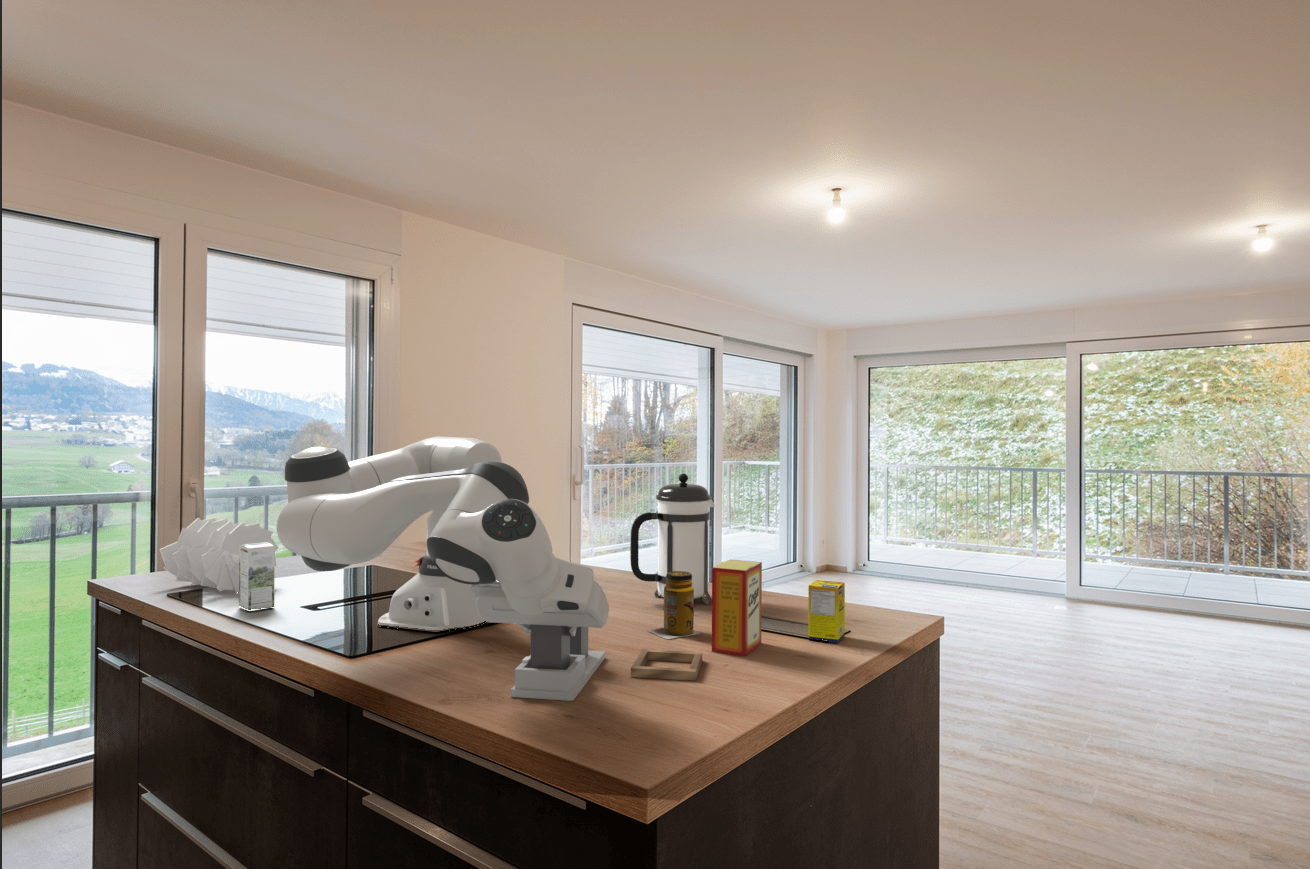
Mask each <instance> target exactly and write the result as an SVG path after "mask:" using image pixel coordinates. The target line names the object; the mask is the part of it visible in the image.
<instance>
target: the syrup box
mask: <svg viewBox="0 0 1310 869" xmlns="http://www.w3.org/2000/svg"><path fill="white" fill-rule="evenodd" d="M275 552H276V551H275V547H274V546H273V545H272V544H270V543H267V542H263V543H254V544H245V545H239V593H238V607H239V606H241V607H243V608H245V609H248V610H251V609H261V608H270V607H274V608H275V567H274V561H275V559H276V553H275Z"/></svg>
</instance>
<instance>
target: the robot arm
mask: <svg viewBox="0 0 1310 869" xmlns="http://www.w3.org/2000/svg"><path fill="white" fill-rule="evenodd" d="M284 465H285V466H284V481H285V482H286V489H287V490H286V493H287V502H288V503H287V504H286V505H285V506H284V507H283V508H282V510H281V511H280V513H279V515H278V517H277V520H276V534H277V537H278V539H279V541H280V543H281V545H282V546H283V547H285V549H287V550H288V551H290V552H292V553H294V554H296V555H298V556H300V557H301V559H302V560H303V562H304V564H305V565H306V566H307V567H309V568H310V569H311V570H313V571H315V572H334V571H338V570H343V569H345V568H346V567H349V566H352V565H359V564H363V563H366V562H369V561H371V560H374V559H375V558H378V557H379V556H381V555H382V554H383V553H385V551H387V549H388V548H390V546H391V545H392V544H393V543H394V542H395V541H396V540H397V539H398V538H399V537H400V536H401V535H402V533H403V532H404V531H405V530H406V529H407V528H408V527H410V525H412V524H413V523H414V522H415V521H417V519H419V518H420V517H422V516H423V515H424V514H427V513H429V512H430V513H429V514H428V517H427V518H426V554H424V555H423V556H421V557H420V558H419V559H417V560H415V561H414V563H415V564H414V567H418V573H416V574H415V575H414V576H412V578H410V579H409V580H408V581H406V582H405V583H404V584H403V585H401V586H400V587H399V588H398V589H396V590H395V592H394V593H393V594H392V595H391V599H390V604H389V610H388V612H386V613H384V614H383V615H381V616H380V617H379V618H378V620H377V625H378V624H379V625H389V626H399V627H408V628H418V629H425V630H443V629H448V628H454V627H464V626H471V625H475V624H479V623H481V622H484V621H486V622H485V623H495V624H496V623H497V624H515V625H516V626H518V627H519V628H521V629H523V630H525V633H526V635H531V624H533V625H553V626H566V627H565V628H564V633H565V636H575V633H576V628H577V627H588V628H592V629H593V628H595V629H597V628H599V629H602V628H603V627H604V626H606V625H607V622H608V618H609V611H610V607H609V606H610V605H609V602H608V599H607V596H606V593H605V592H604V589H603V588H602V586H601V585H600V583H599V582H597V581H596V580H594V578H595V576H594V575H595V574H594V570H593V568H591V567H589V566H585V565H582V564H577V563H573V562H569V561H568V560H564V559H561V558H560V557H556V556H555V555H554V552H553V544H552V542H551V539H550V536H549V532H548V530H547V528H546V527H545V524H544V523H543V521H542V519H541V518H540V516H539V515H538V513H537V512H536V511H535V510H534V509H533V508H532V507H531V506H530V505H529V503H530V497H529V496H530V494H529V489H528V486H527V484H526V482H525V480H524V478H523V476H522V475H521V473H520V472H519V471H518V470H517V469H516V468H514V467H513V466H511V465H510V464H507V463H505V462H503V460H502V456H501V454H500V452H499V450H498V449H497V448H496V447H495V446H494V445H493V444H491V443H489V442H487V441H485V440H482V439H480V438H476V437H465V436H464V437H463V436H462V437H461V436H432V437H428V438H424V439H422V440H419V441H416V442H413V443H411V444H408V445H406V446H403V447H400V448H398V449H394V450H390V451H387V452H382V453H379V454H378V453H377V454H373V455H370V456H369V455H368V456H365V457H362V458H358V459H354V460H350V461H348V459H347V458H346V456H345V454H344V453H343V452H342V451H340V450H339V449H337V448H333V447H326V446H311V447H308V448H305V449H302V450H300V451H299V452H297V453H295V454H292V455H291V456H290V457H289V459H287V461H286V462H285V464H284Z"/></svg>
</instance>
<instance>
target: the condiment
mask: <svg viewBox="0 0 1310 869" xmlns="http://www.w3.org/2000/svg"><path fill="white" fill-rule="evenodd" d="M694 600H695V599H694V588H693V586H692V574H691V573H689V572H684V571H674V572H669V573H667V575H666V586H665V587H664V596H663V627H659V628H654V629H653V628H651V629H647V631H648V632H650V633H651V634H653V635H655V636H658V637H660V638H662V639H666V640H671V639H675V638H682V637H690V636H696V635H700V634H702V632H701V631H697V630H695V629H694V624H695V622H694V621H695V619H694V617H695V615H694V614H695V613H694V612H695V611H694V610H695V607H694V606H695V604H694V602H695V601H694Z"/></svg>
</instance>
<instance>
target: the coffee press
mask: <svg viewBox="0 0 1310 869" xmlns="http://www.w3.org/2000/svg"><path fill="white" fill-rule="evenodd" d="M688 480H689V476H688V475H687V474H686V473H681V474H679V476H678V481H679V482H680V483H674V484H673V483H671V484H666V485H663V486H662V487H660V489H659V491H658V493H657V494H656V495H655V500H656V501H657V510H656V512H651V511H650V512H645V513H642V514H639V515H638V516H637V517H636V518H635V519H634V521H633V523H632V525H631V529H630V541H629V542H630V546H629V547H630V549H629V550H630V551H629V552H630V558H629V559H630V568H631V571H632V573H633V575H634V577H636V578H637V579H638V580H639V581H644V582H650V583H651V582H656V583H657V588H656V590H655V592H654V597H655V598H661V597H664V587H665V586H666V575H667V573H669V572H674V571H684V572H689V573H691V574H692V586H693V588H694V600H695V599H700V600H701V601H702V602H703V603H704V605H710V604H712V596H711V595H710V592H709V556H710V555H709V552H710V551H709V549H710V548H709V544H710V543H709V541H710V538H709V536H710V535H709V534H710V533H709V532H710V531H709V527H710V524H709V522H710V520H711V519H710V517H711V514H710V510H709V509H710V508H715V507H716V505H715V503H714V501H713V500H712V499H711V495H710V494H709V492H708V489H707V488H705V487H704V486H703V485H699V484H694V483H693V484H692V483H687V482H688ZM651 520H657V565H656V566H657V569H656V570H657V571H656V573H644V572H643V571H641V569H640V566H639V564H640V563H639V534H640V533H639V532H640V528H641V526H642V524H644V523H645V522H646V521H651ZM704 596H705V597H706V598H707V599H706V598H705V597H704ZM707 600H708V601H707Z"/></svg>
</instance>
